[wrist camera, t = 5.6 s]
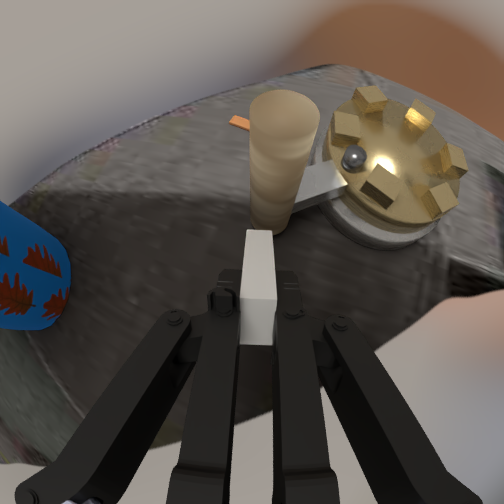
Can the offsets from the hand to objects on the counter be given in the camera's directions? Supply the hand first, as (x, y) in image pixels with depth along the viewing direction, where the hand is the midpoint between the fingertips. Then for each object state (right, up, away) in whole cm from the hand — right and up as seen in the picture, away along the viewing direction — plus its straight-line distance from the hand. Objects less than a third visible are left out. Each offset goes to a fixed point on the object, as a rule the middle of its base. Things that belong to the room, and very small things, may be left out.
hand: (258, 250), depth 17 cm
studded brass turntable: (+9, +6, +7) cm, 13 cm away
